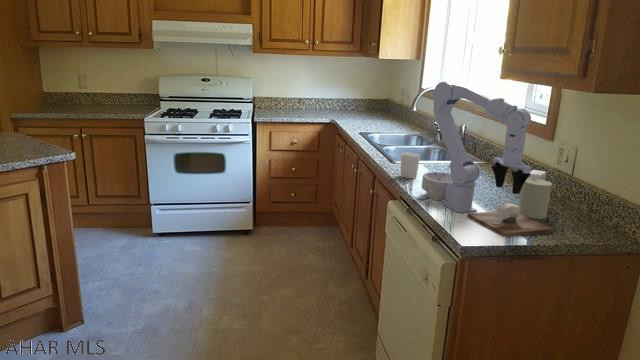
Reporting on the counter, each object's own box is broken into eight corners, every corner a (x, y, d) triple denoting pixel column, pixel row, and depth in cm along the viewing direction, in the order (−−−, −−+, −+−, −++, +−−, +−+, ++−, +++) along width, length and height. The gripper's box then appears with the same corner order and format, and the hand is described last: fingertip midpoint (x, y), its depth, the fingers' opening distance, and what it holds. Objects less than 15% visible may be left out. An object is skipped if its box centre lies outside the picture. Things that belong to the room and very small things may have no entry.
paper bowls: (452, 206, 167) (455, 184, 165) (413, 196, 176) (415, 176, 174) (468, 197, 178) (471, 177, 176) (431, 189, 187) (433, 169, 185)
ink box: (528, 199, 181) (533, 168, 177) (541, 202, 178) (547, 171, 175) (521, 203, 174) (526, 172, 171) (534, 206, 171) (540, 175, 168)
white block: (506, 211, 153) (508, 201, 152) (521, 215, 150) (523, 205, 149) (491, 216, 147) (493, 206, 146) (506, 221, 144) (508, 210, 143)
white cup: (421, 178, 203) (423, 155, 200) (405, 179, 200) (407, 156, 197) (411, 174, 210) (413, 152, 207) (395, 175, 207) (397, 152, 204)
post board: (467, 216, 156) (468, 208, 155) (511, 213, 162) (512, 205, 161) (504, 237, 140) (506, 227, 139) (552, 232, 146) (554, 223, 145)
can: (538, 210, 167) (544, 177, 164) (551, 219, 158) (558, 184, 155) (513, 209, 167) (518, 176, 164) (524, 218, 158) (530, 183, 155)
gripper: (488, 144, 154) (482, 184, 157) (520, 153, 140) (513, 197, 144) (505, 143, 156) (499, 183, 159) (538, 152, 143) (531, 195, 146)
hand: (507, 190), depth 152 cm, fingers open, 7 cm apart
